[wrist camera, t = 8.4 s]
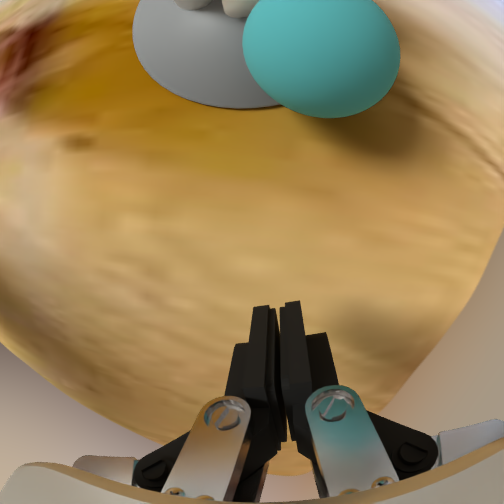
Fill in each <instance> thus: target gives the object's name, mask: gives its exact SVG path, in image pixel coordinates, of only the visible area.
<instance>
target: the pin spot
mask: <svg viewBox="0 0 504 504" xmlns="http://www.w3.org/2000/svg"><path fill="white" fill-rule="evenodd" d="M247 18H248V17H243V18H233V17H230V16H228V15H226V14H225V12H224V8H223V4H222V0H213V1H212V2H211V3H210V4H208V5H207V6H205V7H202V8H200V9H196V10H184V9H181V8H179V7H178V6H177V4H176V3H175V2H174V1H173V0H141V1H140V3H139V5H138V7H137V10H136V13H135V17H134V22H133V42H134V47H135V51H136V53H137V56H138V59H139V60H140V62H141V64H142V66H143V67H144V69H145V70H146V71H147V72H148V73H149V75H150V76H151V77H152V78H153V79H154V80H155V81H157V82H158V83H159V84H160V85H161V86H163V87H164V88H166V89H168V90H169V91H171V92H173V93H174V94H177V95H179V96H181V97H183V98H186V99H188V100H191V101H194V102H198V103H201V104H205V105H210V106H216V107H223V108H236V109H239V108H260V107H268V106H275V105H279V104H280V103H278V102H276V101H275V100H274V99H273V98H271V97H270V96H269V95H268V94H267V93H266V92H265V91H264V90H263V89H262V88H261V87H260V86H259V85H258V84H257V82H256V81H255V80H254V78H253V76H252V75H251V73H250V71H249V69H248V67H247V64H246V61H245V58H244V54H243V46H242V40H243V31H244V26H245V24H246V21H247Z"/></svg>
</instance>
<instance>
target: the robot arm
mask: <svg viewBox="0 0 504 504" xmlns="http://www.w3.org/2000/svg"><path fill="white" fill-rule="evenodd" d="M287 419H288V424H289V430H290V435H291V440H292V441H296V443H297V449H298V452H299V453H301V454H302V455H304V456H305V457H307V458H308V459H310V463H311V467H312V470H313V474H314V478H315V482H316V486H317V490H318V494H319V497H320V499H312V500H303V501H292V502H291V501H290V502H269V503H259V501H260V497H261V494H262V490H263V486H264V482H265V478H266V475H267V470H268V466H269V460H270V459H271V458H272V457H274V456H275V455H276V454H277V451H279V450H281V442H287ZM0 504H504V421H501V420H498V419H495V420H489V421H485V422H482V423H478V424H474V425H471V426H466V427H462V428H458V429H453V430H448V431H443V432H439V434H438V435H436V436H429V435H427V434H425V433H422V432H420V431H417V430H414V429H411V428H409V427H406V426H404V425H401V424H398V423H396V422H393V421H391V420H388V419H386V418H384V417H381V416H379V415H376V414H374V413H372V412H369V411H367V410H366V409H365V407H364V405H363V403H362V401H361V399H360V397H359V396H358V395H357V393H356V392H355V391H354V390H352V389H350V388H349V387H345V386H342V385H339V383H338V379H337V374H336V370H335V366H334V362H333V357H332V353H331V349H330V345H329V341H328V337H327V334H326V332H324V333H318V334H312V335H305V330H304V324H303V317H302V311H301V304H300V301H293V302H286V303H285V307H280V332H279V326H278V320H277V315H276V310H275V308H272V309H270V307H269V305H265V306H257V307H254V308H253V314H252V322H251V329H250V336H249V343H238V344H236V345H235V347H234V352H233V356H232V361H231V366H230V371H229V376H228V381H227V386H226V391H225V395H224V396H222V397H218V398H215V399H213V400H211V401H209V402H208V403H207V404H206V405H204V406H203V408H202V409H201V411H200V412H199V415H198V417H197V419H196V421H195V423H194V425H193V427H192V429H191V430H190V431H189V432H187V433H185V434H184V435H182V436H180V437H179V438H177V439H175V440H173V441H172V442H170V443H168V444H166V445H165V446H163V447H161V448H159V449H157V450H155V451H154V452H152V453H150V454H148V455H146V456H145V457H143V458H142V459H140V460H137V459H136V458H135V457H107V456H92V455H86V456H82V457H80V458H79V459H77V460H76V461H75V462H74V465H73V467H70V466H66V465H63V464H57V463H48V462H34V463H27V464H24V465H22V466H20V467H18V468H17V469H16V470H15V471H14V473H13V474H12V475H11V476H10V478H9V479H8V481H7V482H6V484H5V485H4V487H3V489H2V490H1V492H0Z"/></svg>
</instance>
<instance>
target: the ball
mask: <svg viewBox="0 0 504 504" xmlns="http://www.w3.org/2000/svg"><path fill="white" fill-rule="evenodd" d="M242 46H243V54H244V58H245V61H246V64H247V67H248V69H249V71H250V73H251V75H252V76H253V78H254V80H255V81H256V82H257V84H258V85H259V86H260V87H261V88H262V89H263V90H264V91H265V92H266V93H267V94H268V95H269V96H270V97H271V98H273V99H274V100H275V101H276V102H278V103H280V104H281V105H283V106H285V107H286V108H289V109H291V110H293V111H295V112H298V113H301V114H304V115H308V116H312V117H320V118H339V117H347V116H350V115H354V114H357V113H360V112H362V111H365V110H366V109H368V108H370V107H372V106H373V105H375V104H376V103H377V102H378V101H380V100H381V99H382V98H383V97H384V96H385V95H386V94H387V93H388V91H389V90H390V88H391V87H392V85H393V83H394V81H395V79H396V77H397V74H398V70H399V65H400V46H399V41H398V38H397V35H396V32H395V29H394V28H393V26H392V24H391V22H390V20H389V19H388V17H387V16H386V14H385V13H384V12H383V10H382V9H381V8H380V7H379V6H378V5H377V4H376V3H375V2H373V1H372V0H260V1H259V2H258V3H257V4H256V5H255V7H254V8H253V9H252V11H251V13H250V14H249V16H248V18H247V21H246V24H245V26H244V31H243V40H242Z"/></svg>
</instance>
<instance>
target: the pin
mask: <svg viewBox="0 0 504 504" xmlns="http://www.w3.org/2000/svg"><path fill="white" fill-rule="evenodd" d="M173 1H174V2H175V3H176V4H177V6H178V7H179V8H181V9H184V10H196V9H200V8H202V7H205V6H207V5H208V4H210V3H211V2H212V1H213V0H173Z"/></svg>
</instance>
